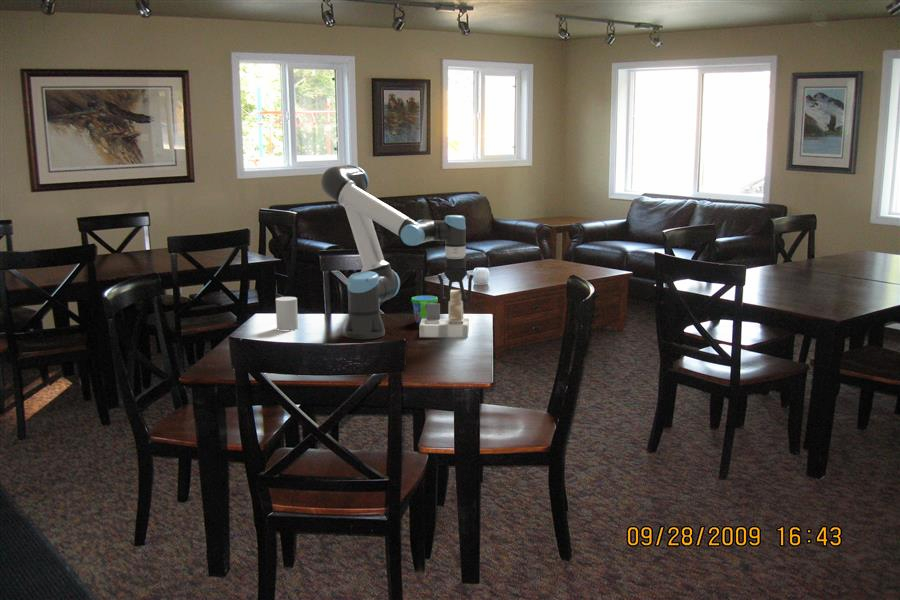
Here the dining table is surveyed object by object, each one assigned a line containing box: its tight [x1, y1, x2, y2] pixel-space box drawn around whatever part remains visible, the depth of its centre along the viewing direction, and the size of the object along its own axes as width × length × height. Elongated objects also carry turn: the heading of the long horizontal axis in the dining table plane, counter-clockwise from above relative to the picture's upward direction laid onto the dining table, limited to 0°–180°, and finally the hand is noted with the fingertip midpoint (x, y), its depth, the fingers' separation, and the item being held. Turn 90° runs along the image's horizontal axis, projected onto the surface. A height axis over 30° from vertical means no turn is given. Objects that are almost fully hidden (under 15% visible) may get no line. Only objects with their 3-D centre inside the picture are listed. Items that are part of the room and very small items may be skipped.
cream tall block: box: [449, 289, 462, 321], centre depth 316 cm, size 4×4×11 cm
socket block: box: [418, 303, 470, 338], centre depth 319 cm, size 18×12×10 cm, turn 87°
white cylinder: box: [275, 296, 299, 331], centre depth 329 cm, size 8×8×12 cm
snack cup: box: [411, 295, 439, 324], centre depth 338 cm, size 16×10×10 cm
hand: (455, 318), depth 317 cm, fingers closed on cream tall block, 4 cm apart
